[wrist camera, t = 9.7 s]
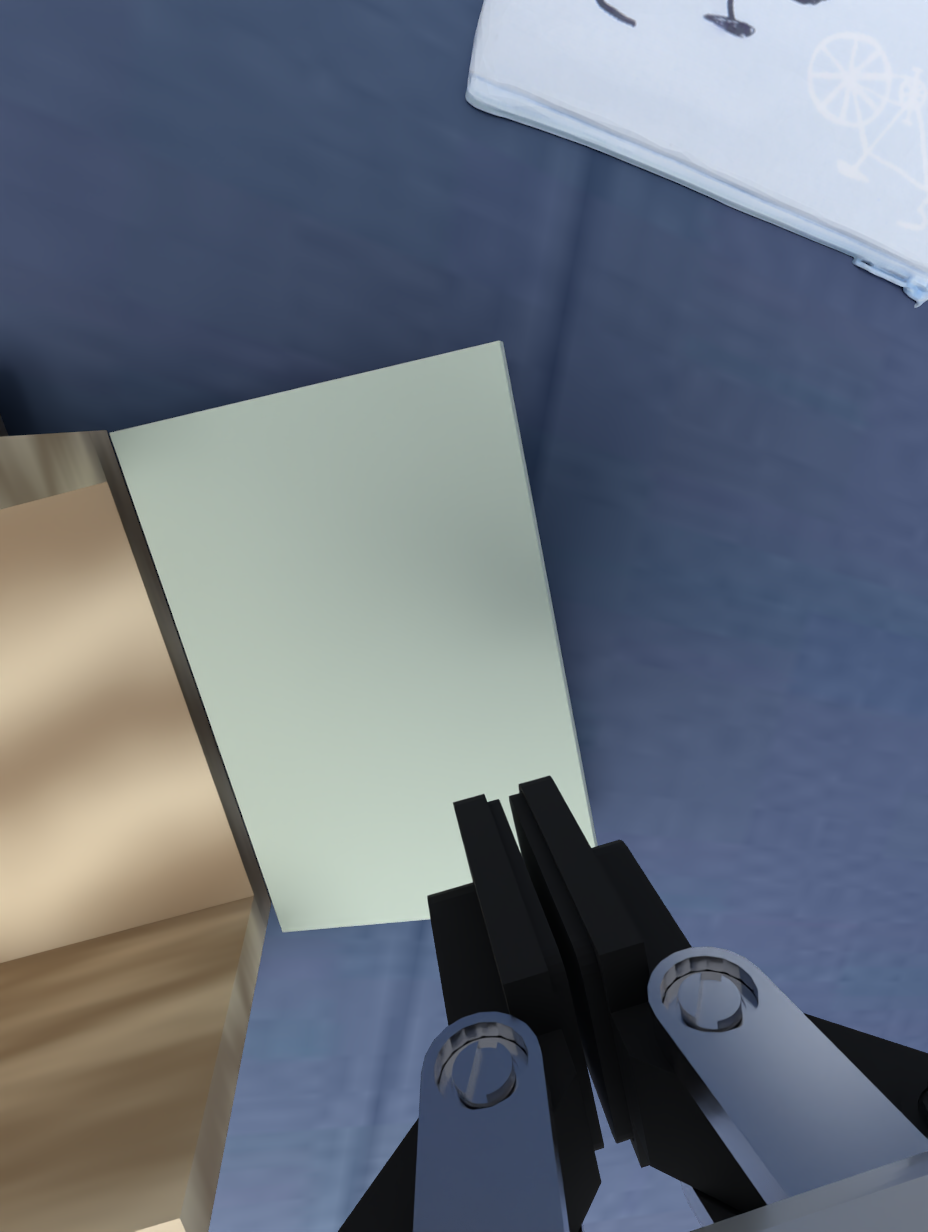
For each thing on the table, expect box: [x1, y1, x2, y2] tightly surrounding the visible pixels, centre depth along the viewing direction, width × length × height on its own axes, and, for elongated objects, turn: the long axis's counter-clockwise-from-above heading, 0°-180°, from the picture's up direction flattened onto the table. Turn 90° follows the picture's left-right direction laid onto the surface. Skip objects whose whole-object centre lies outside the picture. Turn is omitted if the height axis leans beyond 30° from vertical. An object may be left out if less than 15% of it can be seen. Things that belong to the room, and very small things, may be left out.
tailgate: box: [109, 341, 597, 932], centre depth 23 cm, size 18×2×11 cm
